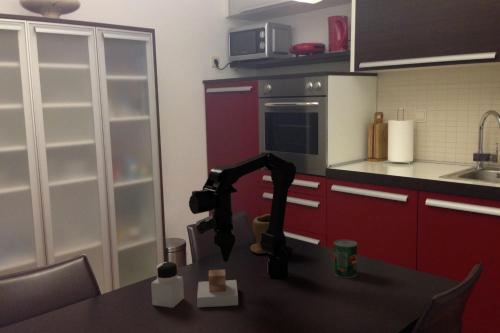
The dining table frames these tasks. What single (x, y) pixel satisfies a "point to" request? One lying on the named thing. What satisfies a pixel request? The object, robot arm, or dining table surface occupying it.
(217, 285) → the terracotta cube
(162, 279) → the medicine bottle
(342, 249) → the canned tomato
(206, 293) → the grey base
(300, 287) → the dining table surface
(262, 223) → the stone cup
